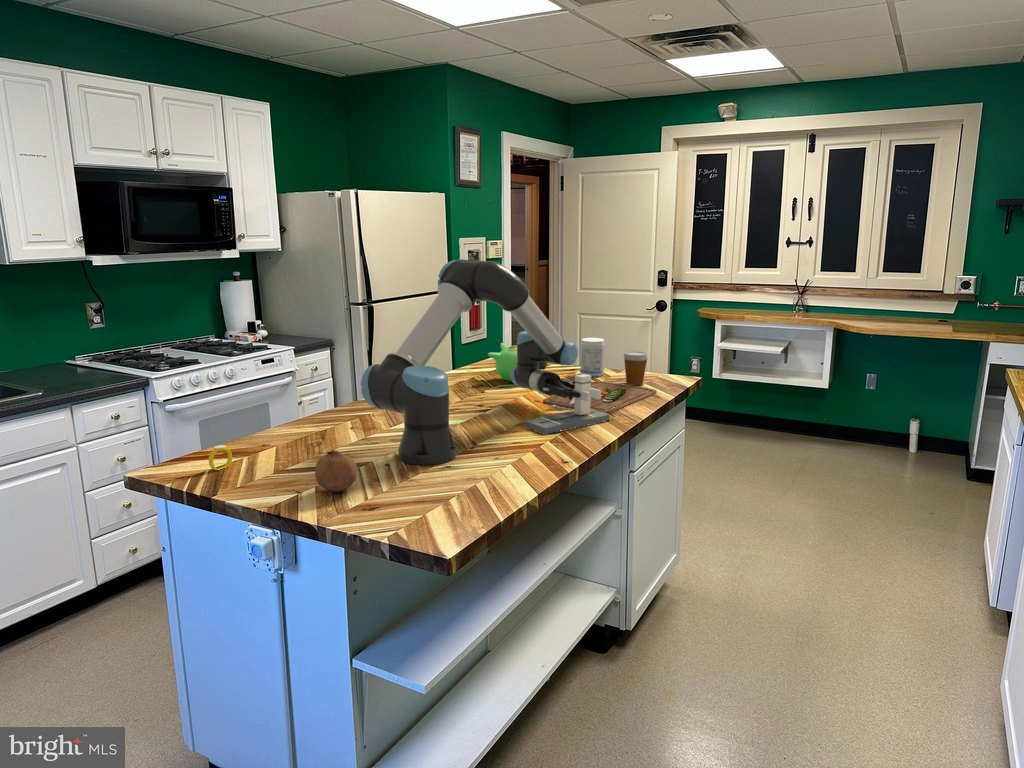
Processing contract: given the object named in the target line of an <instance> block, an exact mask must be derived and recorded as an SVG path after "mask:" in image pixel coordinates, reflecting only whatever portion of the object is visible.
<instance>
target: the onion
mask: <svg viewBox="0 0 1024 768" xmlns="http://www.w3.org/2000/svg"><path fill="white" fill-rule="evenodd" d="M358 472H359V471H358V465H357V463H356V461H355V460H354V459H353V458H352V457H351V456H349V455H347V454H344V453H342V452H341V451H339V450H336V449H330V450H329V451H327V452H326V454H324V455H323V456H321V457H320V458H319V459H318V461H317V462H316V464H315V468H314V476H315V477H314V478H315V480H316V482H317V484H318V485H319V486H320V487H321V488H323V489H325V490H328V491H330V492H332V493H341V492H344V491H346V490H347V489H349V488H350V487H352V486H353V484H354V483H355V481H356V480H357V476H358V474H359V473H358Z"/></svg>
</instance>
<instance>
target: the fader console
mask: <svg viewBox="0 0 1024 768" xmlns="http://www.w3.org/2000/svg"><path fill="white" fill-rule="evenodd" d="M607 420H609V421H610V414H606V413H602V412H599V411H596V410H592V409H590V413H588V414H584V415H579V414H576V413H574V411H571V410H570V411H567V412H562V413H556V414H551V415H547V416H541V417H536V418H532V419H526V420H524V426H523V427H524V428H526V427H527V428H526V429H529V428H530V429H529V430H531V429H533V430H532V431H534V430H536V431H535V432H537V431H538V432H537V433H539V432H541V433H540V434H542V433H544V434H543V435H545V434H546V435H549V434H548V433H551V434H554V433H553V432H555V433H558V432H557V431H560V430H565V429H569V430H571V429H570V428H574V427H578V426H583V427H585V426H584V425H588V424H592V425H594V424H593V423H597V424H599V423H598V422H601V423H604V422H603V421H606V422H608V421H607ZM588 426H589V425H588ZM578 428H579V427H578ZM574 429H575V428H574ZM565 431H566V430H565ZM560 432H561V431H560Z"/></svg>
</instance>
